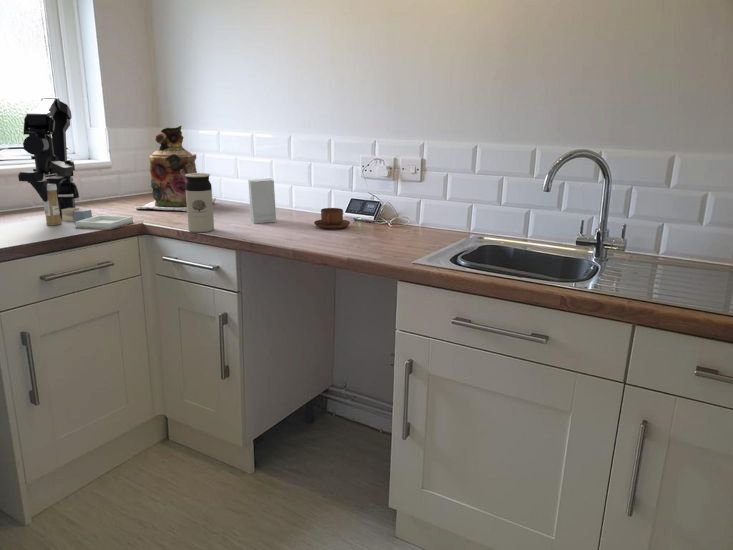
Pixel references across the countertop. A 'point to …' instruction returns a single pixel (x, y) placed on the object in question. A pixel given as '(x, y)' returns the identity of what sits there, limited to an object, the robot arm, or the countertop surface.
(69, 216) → the birch block
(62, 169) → the robot arm
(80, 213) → the slate block
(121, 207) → the countertop surface
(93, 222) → the sage tray
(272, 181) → the skincare box
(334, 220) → the cup and saucer
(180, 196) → the cookie jar
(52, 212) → the sprinkles bottle
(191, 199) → the travel mug
